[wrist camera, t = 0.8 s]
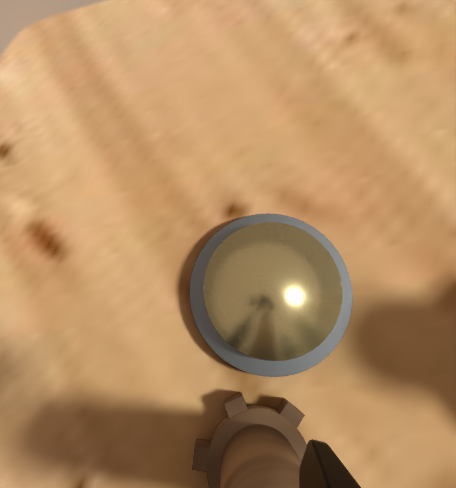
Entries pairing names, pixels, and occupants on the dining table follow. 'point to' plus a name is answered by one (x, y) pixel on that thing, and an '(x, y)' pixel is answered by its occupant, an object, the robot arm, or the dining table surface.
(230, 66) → the dining table surface
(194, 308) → the plate
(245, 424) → the gear spindle
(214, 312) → the hub
